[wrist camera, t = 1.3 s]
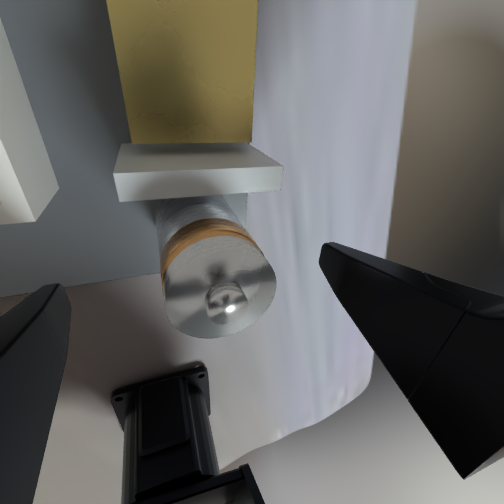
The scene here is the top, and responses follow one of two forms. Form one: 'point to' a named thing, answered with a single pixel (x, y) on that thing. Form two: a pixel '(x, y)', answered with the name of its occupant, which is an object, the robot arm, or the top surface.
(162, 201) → the cell
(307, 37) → the top surface
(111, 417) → the top surface
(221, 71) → the plate
